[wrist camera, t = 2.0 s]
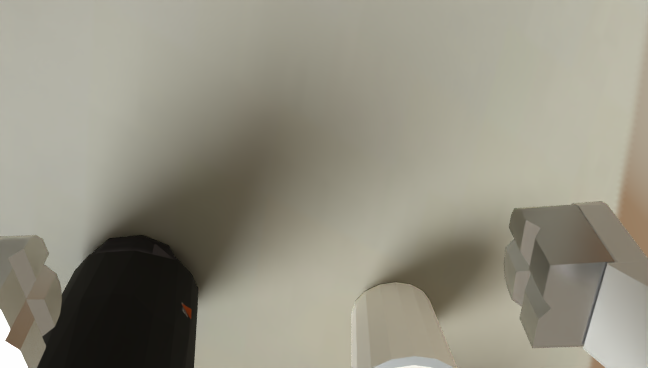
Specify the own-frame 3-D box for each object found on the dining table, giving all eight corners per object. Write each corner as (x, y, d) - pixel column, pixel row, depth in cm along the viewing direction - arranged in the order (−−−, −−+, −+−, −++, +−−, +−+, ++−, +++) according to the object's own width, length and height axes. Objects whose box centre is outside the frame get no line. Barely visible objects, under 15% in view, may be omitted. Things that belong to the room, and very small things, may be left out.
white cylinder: (399, 259, 40) (418, 340, 35) (459, 311, 43) (485, 394, 38) (322, 312, 43) (328, 396, 37) (384, 358, 46) (398, 443, 40)
